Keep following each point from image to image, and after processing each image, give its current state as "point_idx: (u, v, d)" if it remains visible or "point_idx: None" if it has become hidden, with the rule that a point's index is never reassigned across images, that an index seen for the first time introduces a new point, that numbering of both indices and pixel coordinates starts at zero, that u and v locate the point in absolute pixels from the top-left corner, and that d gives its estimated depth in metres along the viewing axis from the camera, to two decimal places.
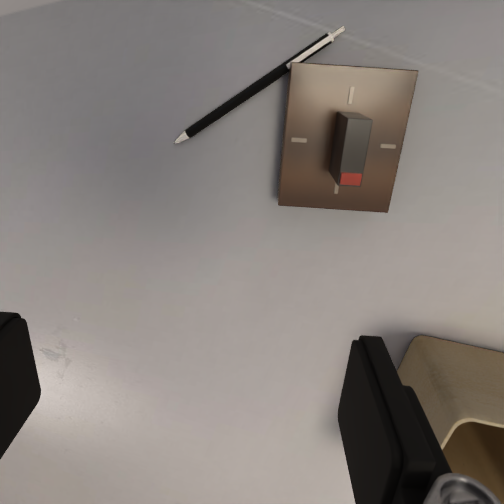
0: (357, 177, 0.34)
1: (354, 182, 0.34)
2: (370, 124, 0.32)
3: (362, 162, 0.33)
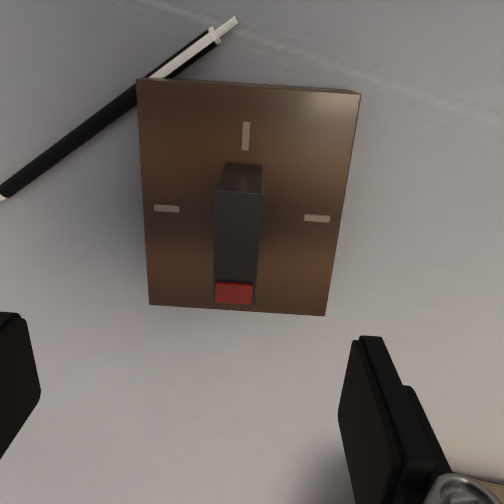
0: (245, 291, 0.18)
1: (240, 299, 0.19)
2: (259, 201, 0.17)
3: (252, 266, 0.18)
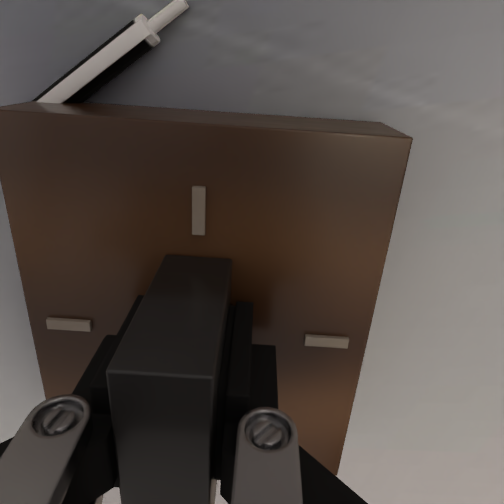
0: None
1: None
2: (205, 393, 0.07)
3: (199, 498, 0.09)
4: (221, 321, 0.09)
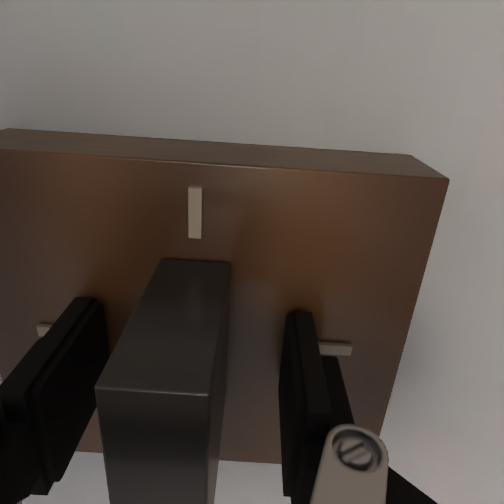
0: None
1: None
2: (201, 410, 0.07)
3: None
4: (219, 331, 0.08)
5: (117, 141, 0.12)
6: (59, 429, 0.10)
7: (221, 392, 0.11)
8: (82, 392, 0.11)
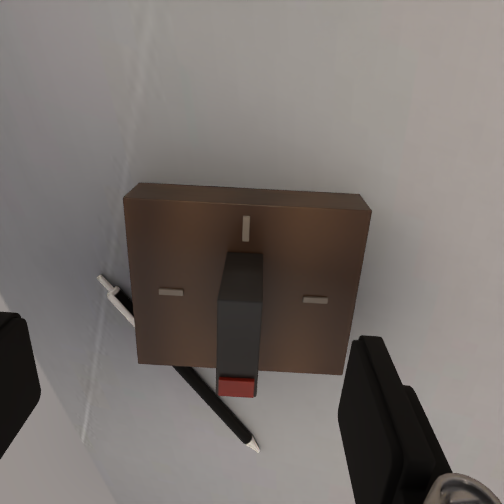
0: (246, 387, 0.19)
1: (242, 393, 0.19)
2: (259, 309, 0.18)
3: (253, 363, 0.19)
4: (262, 282, 0.19)
5: (201, 190, 0.23)
6: None
7: None
8: None
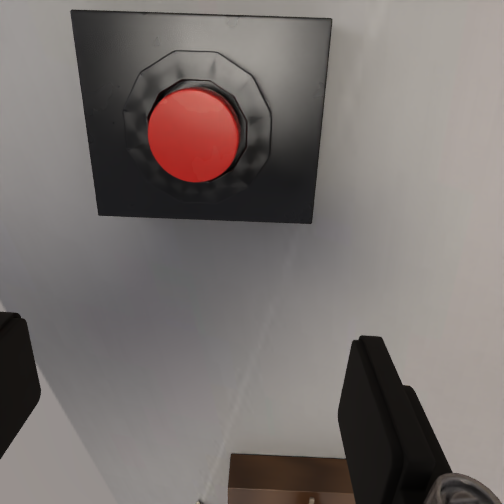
0: None
1: None
2: None
3: None
4: None
5: (277, 466, 0.33)
6: None
7: None
8: None
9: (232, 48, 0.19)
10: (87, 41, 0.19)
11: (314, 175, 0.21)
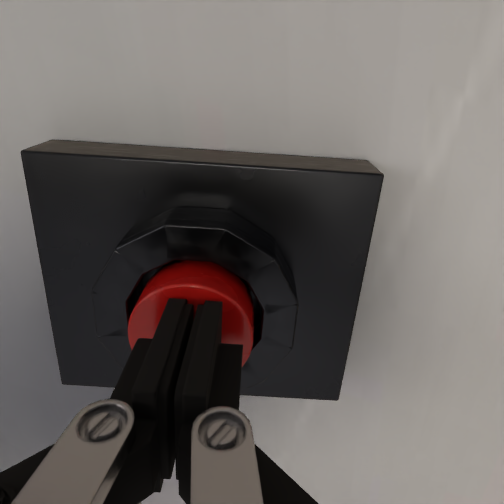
0: None
1: None
2: None
3: None
4: None
5: None
6: (172, 427, 0.10)
7: None
8: None
9: (246, 205, 0.14)
10: (45, 189, 0.14)
11: (346, 350, 0.16)
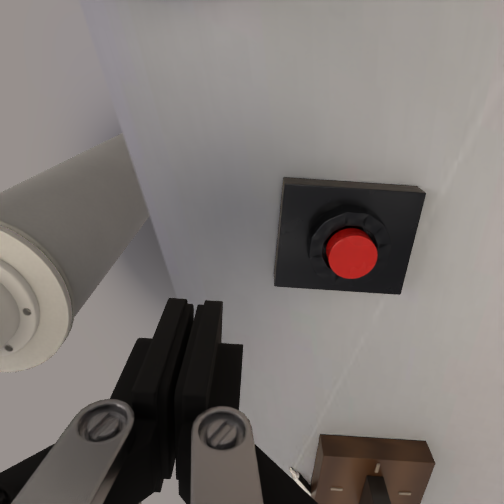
0: None
1: None
2: None
3: None
4: None
5: (353, 443, 0.48)
6: (172, 427, 0.10)
7: None
8: None
9: (370, 205, 0.34)
10: (290, 198, 0.34)
11: (405, 269, 0.37)
